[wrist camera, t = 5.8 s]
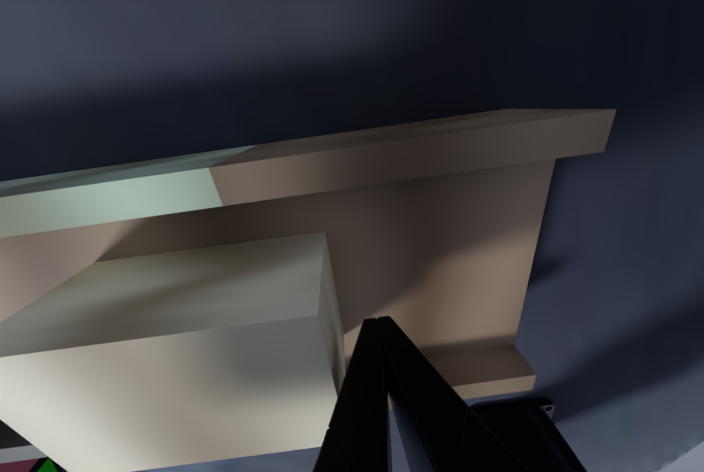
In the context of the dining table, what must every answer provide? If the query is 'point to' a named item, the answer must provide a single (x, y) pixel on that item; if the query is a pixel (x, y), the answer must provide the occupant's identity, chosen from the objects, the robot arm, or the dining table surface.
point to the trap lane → (331, 226)
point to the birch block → (178, 357)
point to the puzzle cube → (30, 465)
